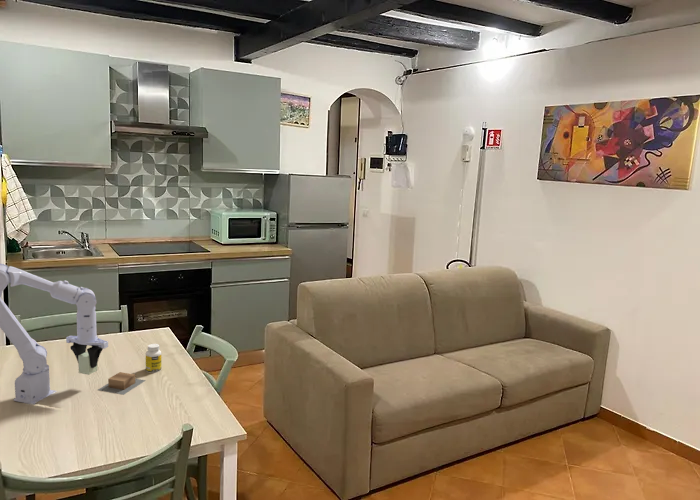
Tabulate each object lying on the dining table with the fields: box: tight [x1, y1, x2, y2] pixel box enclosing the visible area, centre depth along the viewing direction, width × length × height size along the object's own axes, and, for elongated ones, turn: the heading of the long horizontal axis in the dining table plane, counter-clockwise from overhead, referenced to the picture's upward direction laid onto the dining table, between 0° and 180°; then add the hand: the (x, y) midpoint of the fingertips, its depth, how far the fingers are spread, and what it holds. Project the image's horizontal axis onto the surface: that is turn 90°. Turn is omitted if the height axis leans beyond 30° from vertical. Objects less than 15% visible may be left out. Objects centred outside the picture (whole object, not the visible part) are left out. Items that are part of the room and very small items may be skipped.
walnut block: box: [107, 371, 136, 390], centre depth 184 cm, size 6×6×3 cm
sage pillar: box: [77, 351, 99, 376], centre depth 181 cm, size 4×4×6 cm
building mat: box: [97, 378, 146, 396], centre depth 185 cm, size 12×10×1 cm
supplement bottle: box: [145, 343, 162, 374], centre depth 198 cm, size 5×5×10 cm
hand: (87, 365), depth 181 cm, fingers closed on sage pillar, 4 cm apart
